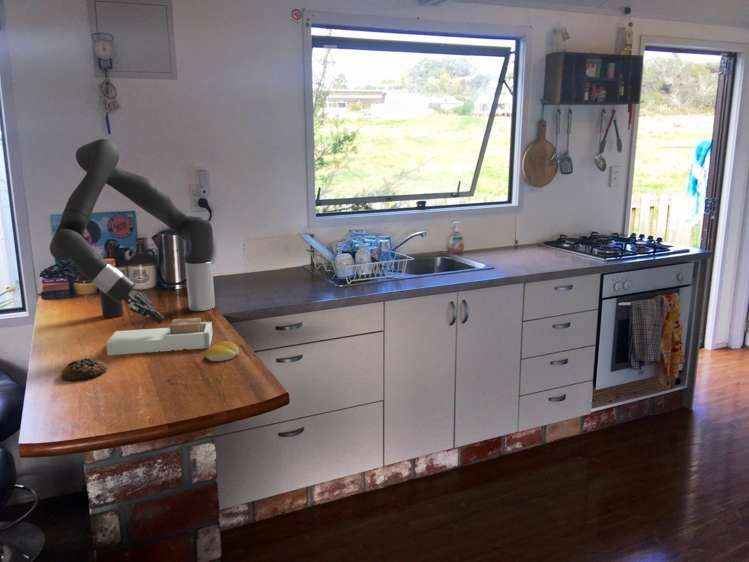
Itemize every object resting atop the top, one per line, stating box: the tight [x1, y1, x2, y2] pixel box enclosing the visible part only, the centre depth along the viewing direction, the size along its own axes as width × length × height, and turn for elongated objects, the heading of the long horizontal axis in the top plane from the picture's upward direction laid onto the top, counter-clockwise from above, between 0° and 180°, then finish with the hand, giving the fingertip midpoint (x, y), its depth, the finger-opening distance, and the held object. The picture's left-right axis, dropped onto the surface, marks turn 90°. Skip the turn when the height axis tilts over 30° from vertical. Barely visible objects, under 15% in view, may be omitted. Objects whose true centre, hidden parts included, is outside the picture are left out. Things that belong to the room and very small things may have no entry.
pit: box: [165, 321, 214, 352], centre depth 184 cm, size 12×12×4 cm
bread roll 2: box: [204, 340, 240, 362], centre depth 172 cm, size 8×9×4 cm
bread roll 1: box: [60, 358, 108, 382], centre depth 161 cm, size 11×11×5 cm
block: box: [169, 317, 202, 334], centre depth 184 cm, size 6×6×8 cm
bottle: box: [99, 258, 124, 319], centre depth 214 cm, size 7×7×20 cm
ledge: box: [105, 327, 171, 356], centre depth 182 cm, size 12×16×4 cm
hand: (162, 321), depth 182 cm, fingers closed
